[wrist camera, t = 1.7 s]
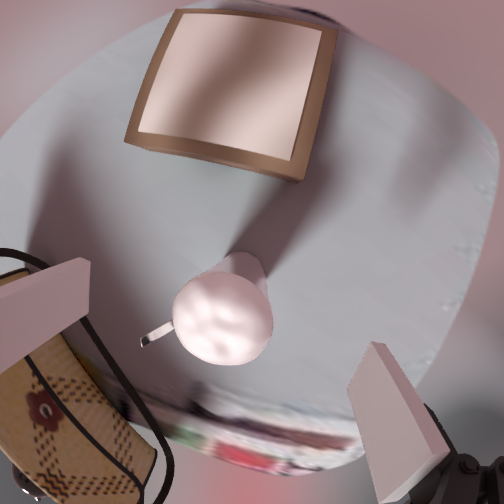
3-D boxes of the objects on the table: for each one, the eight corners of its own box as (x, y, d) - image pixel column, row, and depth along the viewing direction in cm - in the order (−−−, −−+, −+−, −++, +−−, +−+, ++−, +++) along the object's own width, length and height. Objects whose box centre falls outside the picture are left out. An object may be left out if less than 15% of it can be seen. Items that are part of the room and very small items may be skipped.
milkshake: (195, 245, 19) (127, 290, 10) (270, 239, 19) (268, 283, 9) (204, 304, 20) (154, 385, 10) (275, 301, 20) (276, 388, 10)
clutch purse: (198, 453, 24) (166, 557, 10) (155, 457, 25) (117, 544, 11) (41, 223, 20) (-85, 254, 6) (14, 255, 21) (-87, 292, 7)
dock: (150, 150, 18) (121, 141, 14) (190, 34, 16) (174, 6, 12) (297, 183, 18) (304, 178, 14) (327, 57, 16) (339, 28, 12)
